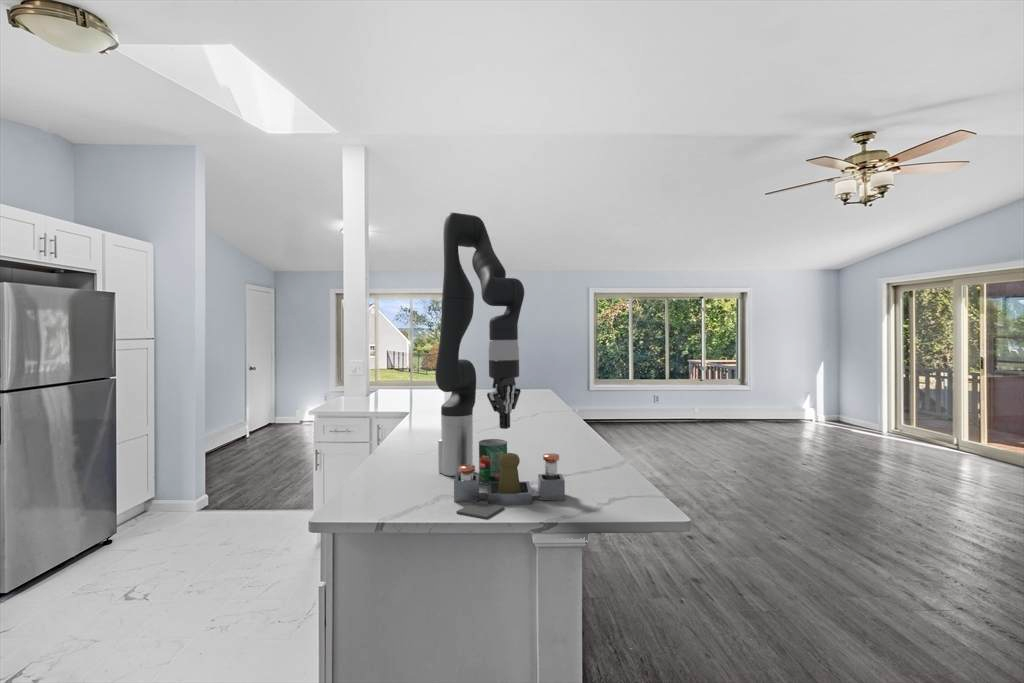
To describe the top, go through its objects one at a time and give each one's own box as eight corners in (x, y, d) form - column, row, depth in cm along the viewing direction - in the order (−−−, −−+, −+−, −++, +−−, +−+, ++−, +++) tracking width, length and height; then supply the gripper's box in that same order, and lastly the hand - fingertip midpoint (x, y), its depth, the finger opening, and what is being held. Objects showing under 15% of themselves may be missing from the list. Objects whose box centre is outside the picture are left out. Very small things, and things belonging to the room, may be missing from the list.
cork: (524, 495, 136) (524, 452, 135) (516, 502, 130) (516, 457, 130) (502, 493, 138) (501, 450, 137) (493, 499, 132) (493, 455, 132)
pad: (456, 513, 122) (456, 511, 122) (475, 503, 129) (475, 501, 129) (486, 519, 118) (486, 516, 118) (504, 508, 125) (504, 506, 125)
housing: (453, 504, 128) (453, 484, 128) (456, 491, 139) (456, 472, 139) (565, 503, 129) (565, 482, 129) (560, 490, 140) (560, 471, 139)
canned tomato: (513, 481, 149) (513, 441, 149) (493, 487, 143) (493, 446, 143) (493, 475, 154) (493, 437, 154) (472, 481, 148) (472, 441, 148)
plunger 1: (455, 495, 133) (455, 467, 132) (464, 491, 136) (464, 463, 136) (469, 497, 131) (469, 469, 131) (478, 493, 134) (478, 465, 134)
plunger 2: (540, 484, 133) (540, 455, 133) (547, 480, 137) (547, 452, 137) (555, 486, 131) (555, 457, 131) (561, 482, 135) (561, 454, 135)
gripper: (504, 357, 140) (505, 423, 141) (476, 359, 129) (477, 431, 129) (529, 357, 137) (530, 425, 137) (503, 359, 125) (504, 433, 125)
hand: (504, 428), depth 133 cm, fingers closed
